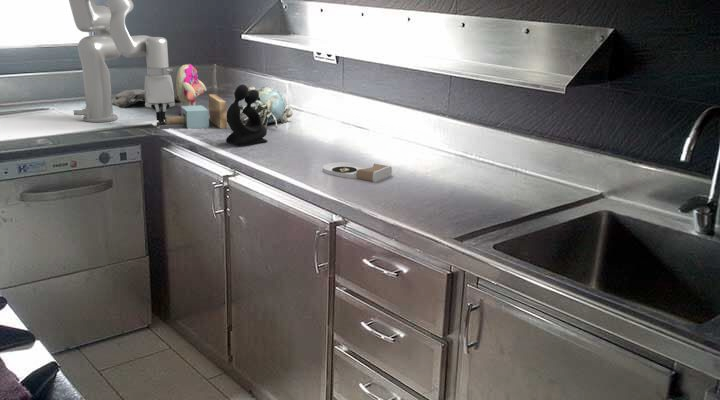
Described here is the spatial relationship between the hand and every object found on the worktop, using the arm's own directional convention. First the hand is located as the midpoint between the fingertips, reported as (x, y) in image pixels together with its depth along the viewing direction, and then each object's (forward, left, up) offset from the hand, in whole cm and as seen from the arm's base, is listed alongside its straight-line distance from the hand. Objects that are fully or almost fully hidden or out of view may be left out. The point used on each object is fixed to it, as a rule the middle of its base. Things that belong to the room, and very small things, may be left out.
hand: (161, 121), depth 257 cm
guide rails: (+3, 0, -2) cm, 4 cm away
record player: (+42, -81, -3) cm, 92 cm away
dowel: (+7, +2, -2) cm, 7 cm away
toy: (+16, +25, -2) cm, 30 cm away
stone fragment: (+3, +52, -3) cm, 52 cm away
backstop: (+21, 0, -2) cm, 21 cm away
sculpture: (+38, -7, -2) cm, 39 cm away
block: (+12, 0, -2) cm, 13 cm away
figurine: (+23, -34, -2) cm, 41 cm away
